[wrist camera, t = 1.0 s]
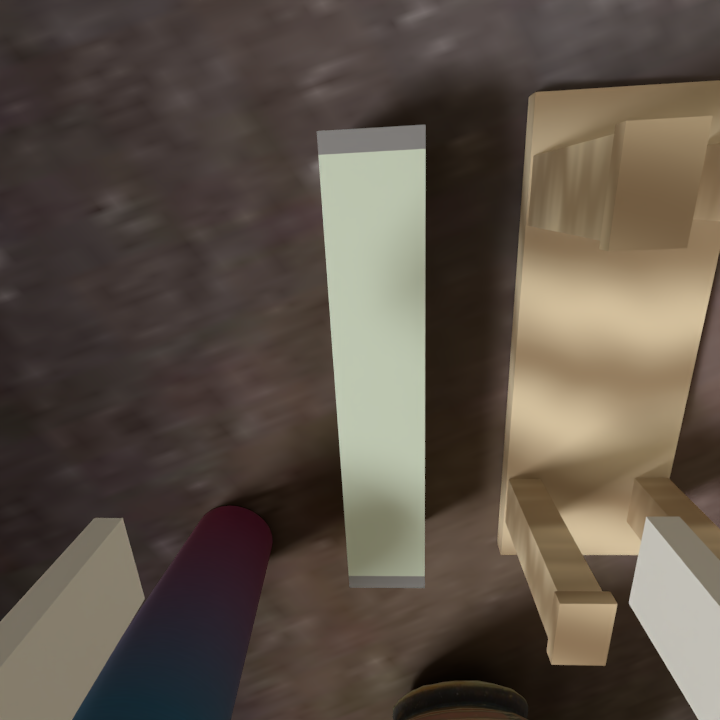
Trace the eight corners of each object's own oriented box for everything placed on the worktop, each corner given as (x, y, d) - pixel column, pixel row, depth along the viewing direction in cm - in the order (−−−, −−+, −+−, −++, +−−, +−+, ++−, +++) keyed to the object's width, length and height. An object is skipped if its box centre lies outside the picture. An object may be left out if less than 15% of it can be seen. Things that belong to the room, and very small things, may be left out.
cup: (254, 479, 28) (123, 766, 14) (304, 559, 30) (232, 881, 16) (164, 513, 29) (-40, 807, 15) (217, 588, 31) (80, 909, 17)
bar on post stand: (526, 97, 20) (640, 17, 11) (742, 83, 20) (1047, -13, 11) (495, 542, 29) (546, 701, 20) (645, 543, 28) (768, 707, 19)
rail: (331, 145, 21) (316, 131, 17) (416, 140, 21) (425, 124, 16) (355, 523, 29) (349, 587, 24) (418, 523, 29) (424, 588, 24)
